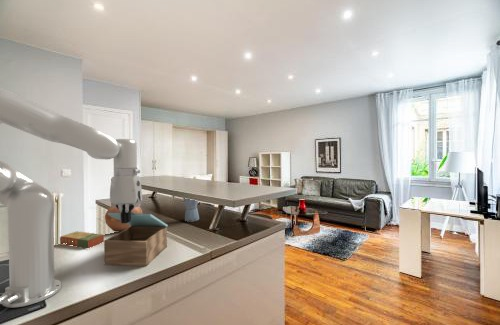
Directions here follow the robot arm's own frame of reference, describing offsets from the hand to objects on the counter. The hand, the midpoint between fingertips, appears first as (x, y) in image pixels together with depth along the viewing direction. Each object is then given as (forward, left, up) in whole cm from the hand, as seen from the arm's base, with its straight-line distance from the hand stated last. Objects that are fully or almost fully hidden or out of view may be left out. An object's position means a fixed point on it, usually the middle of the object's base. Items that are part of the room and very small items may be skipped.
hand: (126, 222), depth 86 cm
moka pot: (+60, -6, -16) cm, 63 cm away
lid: (+10, 0, -2) cm, 10 cm away
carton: (+18, +32, -17) cm, 40 cm away
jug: (+40, +26, -16) cm, 51 cm away
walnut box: (+8, 0, -16) cm, 18 cm away
